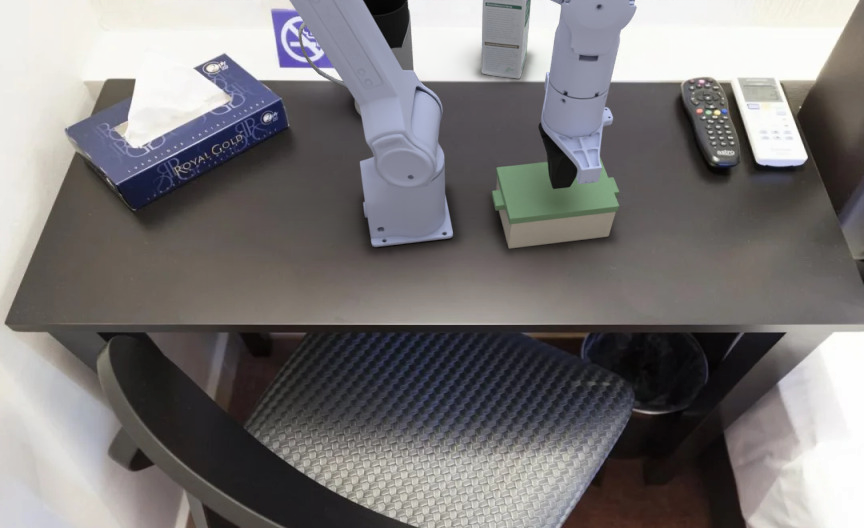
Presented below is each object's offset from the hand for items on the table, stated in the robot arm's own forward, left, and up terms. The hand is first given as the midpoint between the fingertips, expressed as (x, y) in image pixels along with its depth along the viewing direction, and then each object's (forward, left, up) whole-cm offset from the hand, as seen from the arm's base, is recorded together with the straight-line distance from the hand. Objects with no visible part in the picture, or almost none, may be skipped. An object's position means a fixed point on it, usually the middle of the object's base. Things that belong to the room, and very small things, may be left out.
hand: (560, 183), depth 73 cm
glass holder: (-20, +24, -7) cm, 32 cm away
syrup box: (0, +30, -7) cm, 31 cm away
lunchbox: (0, +1, -4) cm, 4 cm away
